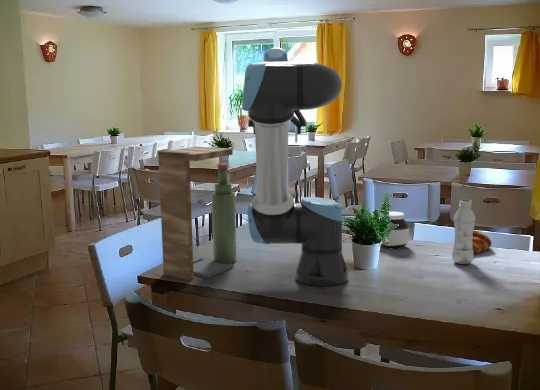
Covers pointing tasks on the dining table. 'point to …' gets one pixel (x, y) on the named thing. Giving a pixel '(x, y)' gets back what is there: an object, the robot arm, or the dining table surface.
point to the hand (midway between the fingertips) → (277, 140)
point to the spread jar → (398, 231)
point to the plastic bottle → (463, 233)
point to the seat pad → (208, 267)
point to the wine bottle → (224, 219)
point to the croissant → (480, 242)
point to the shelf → (179, 206)
